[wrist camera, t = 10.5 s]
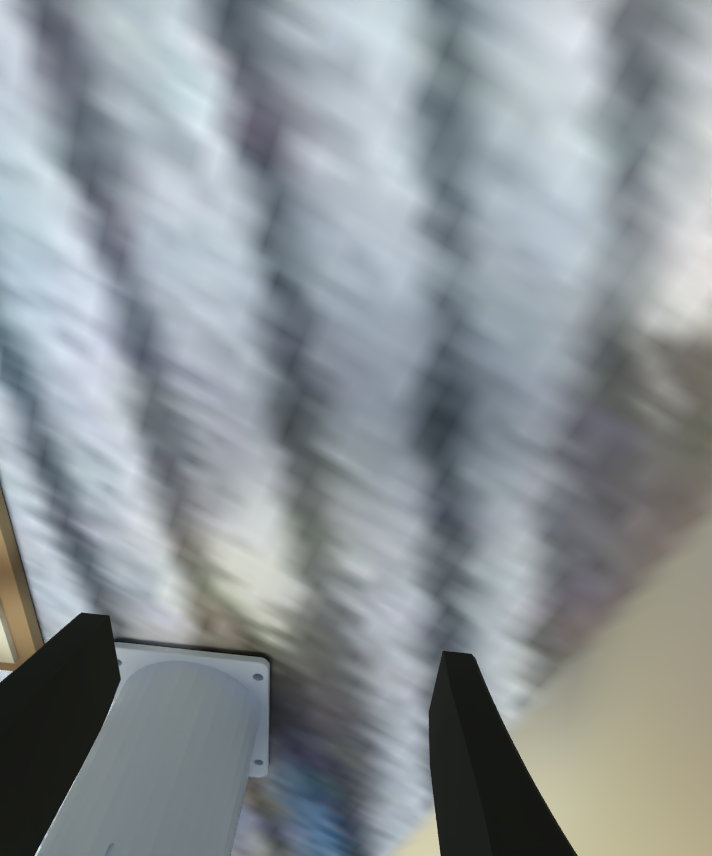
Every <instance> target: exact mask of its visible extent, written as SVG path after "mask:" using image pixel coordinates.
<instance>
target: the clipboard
mask: <svg viewBox="0 0 712 856" xmlns="http://www.w3.org/2000/svg"><path fill="white" fill-rule="evenodd" d="M43 645H44V644H43V640H42V637H41V633H40V629H39V626H38V622H37V618H36V615H35V611H34V607H33V604H32V600H31V596H30V593H29V589H28V585H27V582H26V578H25V574H24V570H23V567H22V563H21V559H20V556H19V552H18V548H17V545H16V541H15V537H14V534H13V530H12V526H11V523H10V519H9V515H8V512H7V508H6V504H5V501H4V497H3V493H2V490H1V486H0V670H9V671H14V670H16V669H17V668H18V667H19V666H20V665H21V664H23V663H24V662H25V661H26V660H27V659H28V658H29V657H31V656H32V655H33V654H34V653H35V652H36V651H38V650H39V649H40V648H41V647H42V646H43Z"/></svg>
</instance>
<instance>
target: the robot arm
mask: <svg viewBox="0 0 712 856" xmlns="http://www.w3.org/2000/svg"><path fill="white" fill-rule="evenodd" d="M269 694H270V664H269V662H268V661H267V660H266V659H264V658H261V657H254V656H244V655H235V654H226V653H216V652H207V651H198V650H188V649H179V648H169V647H160V646H151V645H141V644H132V643H122V642H114V638H113V633H112V627H111V622H110V617H109V616H108V615H99V614H89V613H80V614H79V615H78V616H77V617H75V618H74V619H73V620H72V621H71V622H70V623H68V624H67V625H66V626H65V627H64V628H63V629H62V630H60V631H59V632H58V633H57V634H56V635H55V636H54V637H52V638H51V639H50V640H49V641H48V642H47V643H46V644H44V645H43V646H42V647H41V648H40V649H39V650H38V651H36V652H35V653H34V654H33V655H32V656H31V657H29V658H28V659H27V660H26V661H25V662H24V663H23V664H21V665H20V666H19V667H18V668H17V669H16V670H14V671H13V672H12V673H11V674H10V675H8V676H7V677H6V678H5V679H4V680H3V681H1V682H0V856H35V854H36V852H37V850H38V848H39V846H40V844H41V842H42V840H43V838H44V836H45V834H46V833H47V831H48V829H49V827H50V825H51V823H52V821H53V819H54V818H55V816H56V814H57V812H58V810H59V808H60V806H61V804H62V803H63V801H64V799H65V797H66V795H67V793H68V791H69V789H70V788H71V786H72V784H73V782H74V780H75V778H76V776H77V774H78V773H79V774H78V776H77V778H76V780H75V782H74V784H73V786H72V788H71V790H70V792H69V794H68V796H67V798H66V800H65V802H64V804H63V806H62V808H61V810H60V812H59V814H58V816H57V818H56V820H55V822H54V824H53V826H52V827H51V829H50V831H49V833H48V835H47V837H46V839H45V841H44V843H43V845H42V847H41V849H40V851H39V853H38V855H37V856H231V851H232V847H233V843H234V838H235V834H236V830H237V825H238V821H239V816H240V812H241V808H242V803H243V799H244V795H245V790H246V786H247V782H248V777H257V778H262V777H265V776H266V775H267V773H268V768H269ZM114 698H115V703H114V705H113V707H112V709H111V711H110V713H109V715H108V717H107V719H106V716H107V714H108V711H109V709H110V707H111V704H112V701H113V699H114ZM105 719H106V721H105ZM104 721H105V723H104ZM103 723H104V725H103ZM102 726H103V727H102ZM101 728H102V729H101ZM100 730H101V731H100ZM99 732H100V733H99ZM98 734H99V735H98ZM97 736H98V737H97ZM96 738H97V739H96ZM95 740H96V741H95ZM94 742H95V743H94ZM93 744H94V745H93ZM92 746H93V747H92ZM429 747H430V769H431V778H432V787H433V795H434V804H435V812H436V821H437V828H438V837H439V845H440V854H441V856H577V854H576V852H575V851H574V849H573V848H572V846H571V844H570V843H569V841H568V840H567V838H566V836H565V835H564V833H563V832H562V830H561V828H560V826H559V825H558V823H557V822H556V820H555V818H554V816H553V815H552V813H551V811H550V809H549V808H548V806H547V804H546V803H545V801H544V799H543V797H542V796H541V794H540V792H539V790H538V789H537V787H536V785H535V783H534V781H533V779H532V778H531V776H530V774H529V772H528V770H527V769H526V766H525V765H524V763H523V761H522V759H521V757H520V755H519V753H518V751H517V749H516V747H515V745H514V743H513V741H512V739H511V737H510V735H509V733H508V731H507V729H506V727H505V725H504V723H503V721H502V719H501V717H500V715H499V712H498V710H497V708H496V706H495V704H494V702H493V700H492V697H491V695H490V693H489V690H488V688H487V686H486V683H485V681H484V679H483V676H482V674H481V671H480V669H479V666H478V664H477V661H476V659H475V657H474V656H473V655H472V654H467V653H458V652H448V651H443V653H442V657H441V661H440V666H439V670H438V674H437V679H436V683H435V687H434V692H433V696H432V701H431V705H430V709H429ZM91 748H92V749H91ZM90 750H91V751H90ZM89 752H90V753H89ZM88 754H89V755H88ZM87 755H88V757H87ZM86 757H87V759H86ZM85 759H86V760H85ZM84 761H85V762H84ZM83 763H84V764H83ZM82 765H83V766H82ZM81 767H82V768H81ZM80 769H81V770H80ZM79 771H80V772H79Z"/></svg>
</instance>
